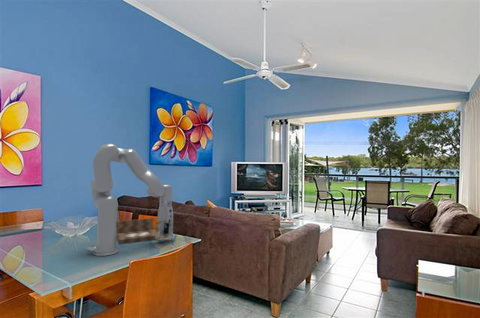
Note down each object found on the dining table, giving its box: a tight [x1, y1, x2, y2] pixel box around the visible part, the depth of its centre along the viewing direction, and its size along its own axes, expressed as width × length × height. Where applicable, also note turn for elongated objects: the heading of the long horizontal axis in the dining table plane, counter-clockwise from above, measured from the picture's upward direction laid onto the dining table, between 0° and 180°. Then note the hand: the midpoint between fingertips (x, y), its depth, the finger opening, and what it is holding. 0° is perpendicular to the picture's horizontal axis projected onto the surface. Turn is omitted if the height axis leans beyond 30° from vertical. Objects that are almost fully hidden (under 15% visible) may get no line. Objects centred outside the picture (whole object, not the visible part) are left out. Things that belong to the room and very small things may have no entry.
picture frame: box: [154, 221, 174, 240], centre depth 170 cm, size 12×5×10 cm, turn 145°
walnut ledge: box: [116, 217, 156, 245], centre depth 179 cm, size 24×20×10 cm
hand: (164, 233), depth 170 cm, fingers closed on picture frame, 2 cm apart
